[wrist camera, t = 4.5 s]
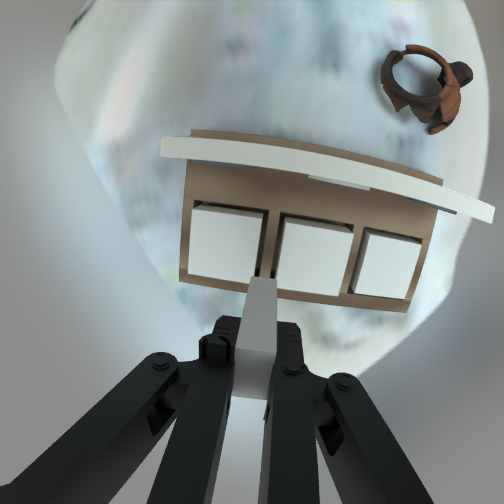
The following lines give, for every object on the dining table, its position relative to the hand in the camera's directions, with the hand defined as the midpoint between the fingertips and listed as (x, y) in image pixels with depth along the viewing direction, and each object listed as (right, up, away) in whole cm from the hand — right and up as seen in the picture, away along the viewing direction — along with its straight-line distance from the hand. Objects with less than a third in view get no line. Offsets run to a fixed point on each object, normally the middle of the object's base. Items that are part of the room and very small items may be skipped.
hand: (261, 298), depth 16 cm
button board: (+6, +6, +13) cm, 15 cm away
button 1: (-3, +4, +10) cm, 12 cm away
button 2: (+13, +2, +11) cm, 17 cm away
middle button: (+5, +3, +10) cm, 12 cm away
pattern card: (+6, +10, +7) cm, 14 cm away
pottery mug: (+19, +21, +7) cm, 29 cm away
